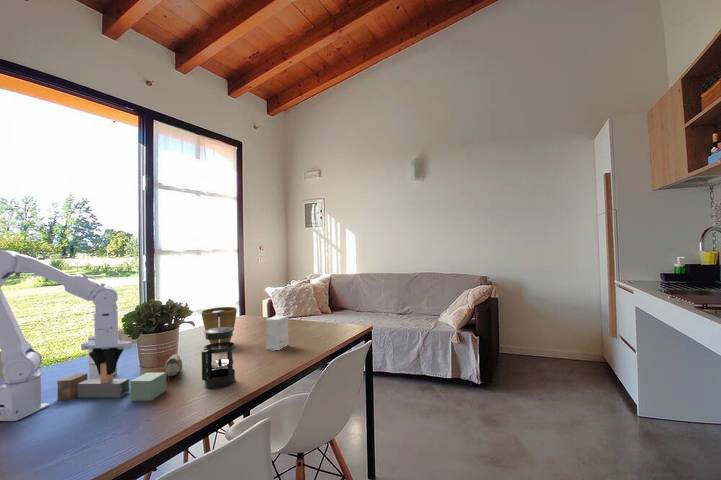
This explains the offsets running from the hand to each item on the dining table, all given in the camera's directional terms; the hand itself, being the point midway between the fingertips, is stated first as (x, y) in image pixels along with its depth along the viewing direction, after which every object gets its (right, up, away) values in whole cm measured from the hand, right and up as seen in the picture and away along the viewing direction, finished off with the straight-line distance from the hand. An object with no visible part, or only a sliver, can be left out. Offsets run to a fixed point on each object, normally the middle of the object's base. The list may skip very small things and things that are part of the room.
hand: (106, 373), depth 107 cm
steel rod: (-2, -6, 0) cm, 6 cm away
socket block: (+13, -6, -1) cm, 15 cm away
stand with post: (-1, -6, 0) cm, 6 cm away
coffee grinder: (+31, -6, +6) cm, 32 cm away
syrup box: (-13, -8, +17) cm, 23 cm away
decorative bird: (+12, -7, +16) cm, 21 cm away
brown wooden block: (-11, -7, +1) cm, 13 cm away
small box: (+40, -7, +47) cm, 62 cm away
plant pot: (+13, -8, +54) cm, 56 cm away
